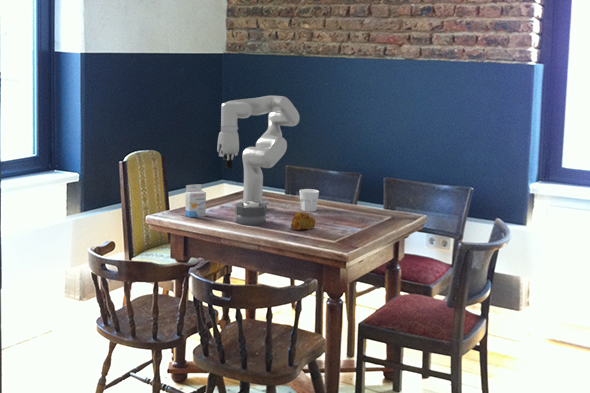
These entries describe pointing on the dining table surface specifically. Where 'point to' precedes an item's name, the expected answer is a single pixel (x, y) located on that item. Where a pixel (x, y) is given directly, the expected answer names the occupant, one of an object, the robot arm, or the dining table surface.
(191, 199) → the ink box
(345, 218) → the dining table surface
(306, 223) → the rock
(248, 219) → the grey stepped puck
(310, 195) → the cup
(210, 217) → the dining table surface
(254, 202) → the cap
